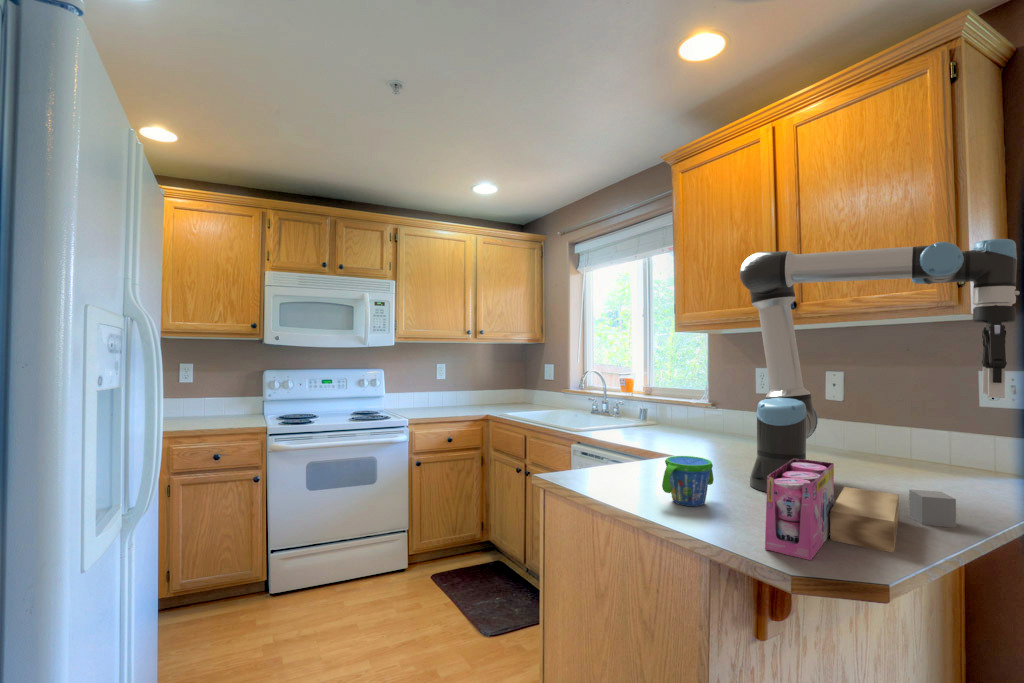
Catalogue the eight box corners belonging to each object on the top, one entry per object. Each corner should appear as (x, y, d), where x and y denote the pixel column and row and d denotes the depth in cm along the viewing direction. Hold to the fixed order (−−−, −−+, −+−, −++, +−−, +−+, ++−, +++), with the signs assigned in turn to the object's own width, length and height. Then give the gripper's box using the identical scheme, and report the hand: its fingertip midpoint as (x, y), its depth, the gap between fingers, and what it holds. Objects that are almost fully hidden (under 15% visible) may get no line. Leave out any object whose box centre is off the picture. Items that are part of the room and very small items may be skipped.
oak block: (830, 541, 103) (830, 510, 103) (844, 513, 121) (844, 486, 121) (893, 554, 96) (893, 521, 97) (898, 522, 115) (898, 494, 115)
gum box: (811, 564, 91) (811, 484, 91) (761, 552, 96) (762, 477, 96) (834, 528, 109) (835, 462, 110) (792, 520, 115) (792, 457, 115)
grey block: (922, 525, 112) (922, 496, 112) (909, 516, 118) (909, 489, 118) (955, 527, 111) (955, 499, 111) (941, 519, 116) (941, 491, 116)
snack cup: (679, 513, 119) (679, 467, 119) (647, 500, 128) (648, 458, 128) (729, 504, 125) (729, 461, 126) (696, 493, 135) (696, 453, 135)
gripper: (1024, 301, 113) (1023, 400, 113) (1008, 308, 133) (1007, 393, 133) (977, 302, 118) (976, 397, 117) (969, 309, 137) (968, 391, 137)
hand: (992, 395), depth 125 cm, fingers open, 13 cm apart
